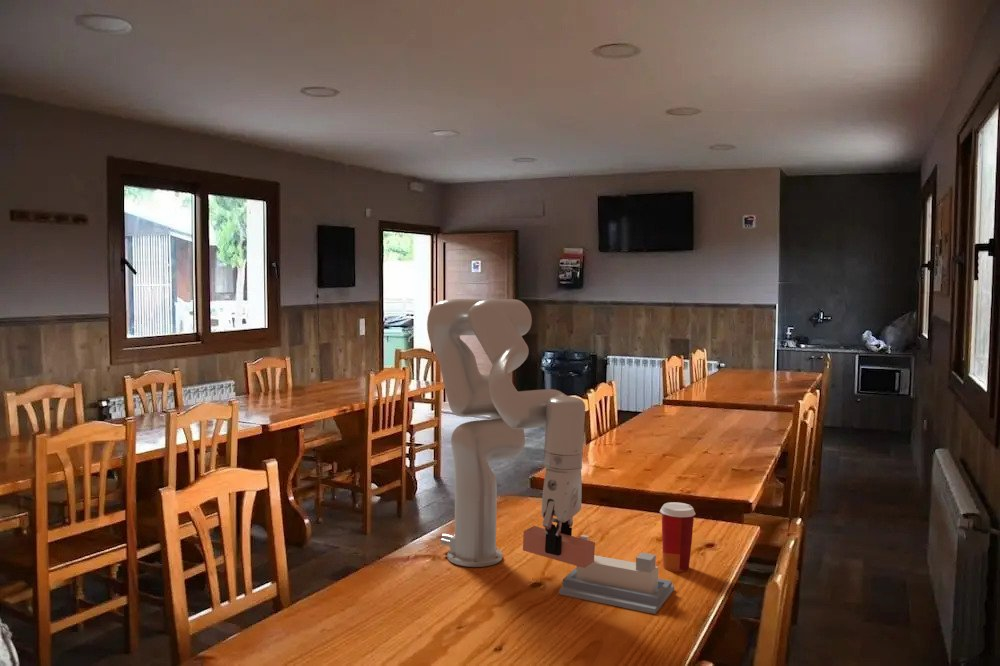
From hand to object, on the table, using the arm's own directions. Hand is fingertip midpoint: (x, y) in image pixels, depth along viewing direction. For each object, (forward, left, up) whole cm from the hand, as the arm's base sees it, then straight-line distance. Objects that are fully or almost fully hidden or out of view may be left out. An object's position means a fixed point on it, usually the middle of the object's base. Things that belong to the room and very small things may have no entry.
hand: (558, 548), depth 159 cm
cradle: (+9, +10, -11) cm, 17 cm away
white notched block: (+9, +11, -10) cm, 17 cm away
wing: (0, 0, -1) cm, 1 cm away
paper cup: (+16, +30, -11) cm, 36 cm away
